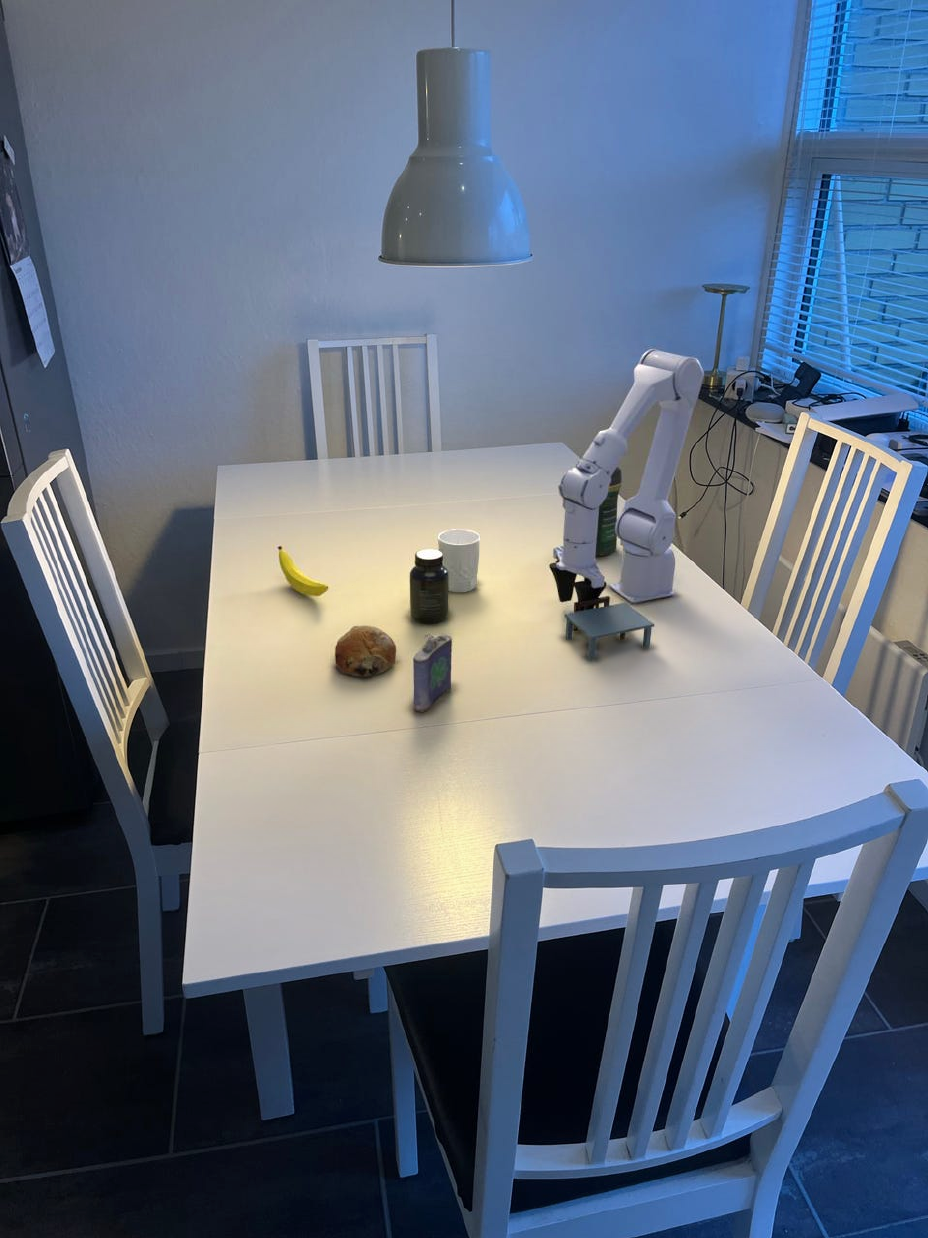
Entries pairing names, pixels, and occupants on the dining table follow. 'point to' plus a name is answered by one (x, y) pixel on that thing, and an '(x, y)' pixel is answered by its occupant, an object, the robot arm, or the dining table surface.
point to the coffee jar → (608, 517)
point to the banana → (299, 577)
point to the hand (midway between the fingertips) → (575, 608)
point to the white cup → (460, 558)
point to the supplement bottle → (429, 588)
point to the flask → (432, 671)
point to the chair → (595, 602)
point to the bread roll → (365, 651)
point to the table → (608, 624)
